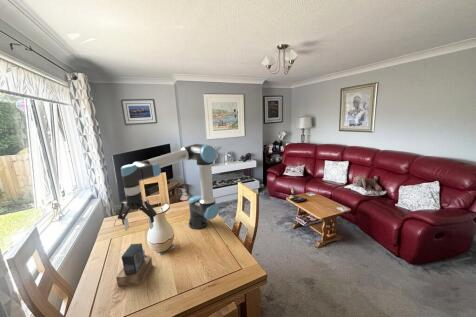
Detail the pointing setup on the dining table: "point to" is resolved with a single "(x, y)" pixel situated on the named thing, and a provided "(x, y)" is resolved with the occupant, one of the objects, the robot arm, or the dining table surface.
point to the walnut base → (135, 274)
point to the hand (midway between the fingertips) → (139, 228)
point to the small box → (133, 258)
